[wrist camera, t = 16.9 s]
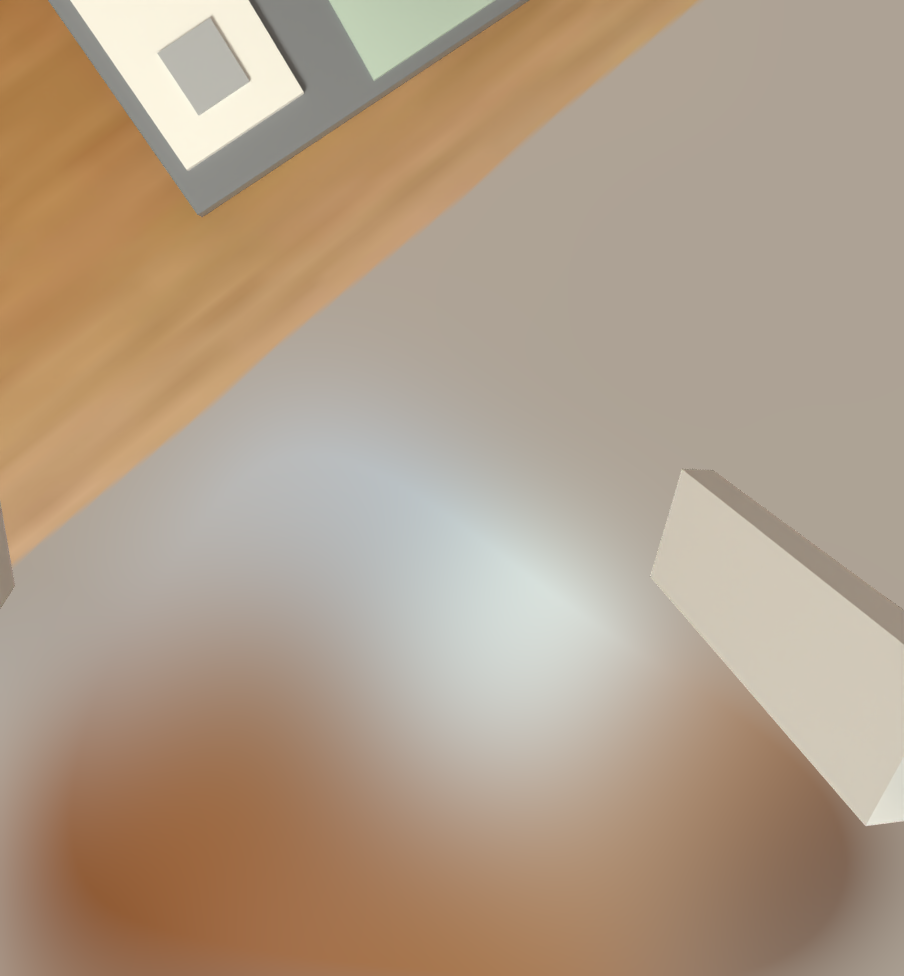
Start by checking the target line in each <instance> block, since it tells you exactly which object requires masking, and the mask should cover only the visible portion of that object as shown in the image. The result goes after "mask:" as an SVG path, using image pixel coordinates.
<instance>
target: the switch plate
mask: <svg viewBox="0 0 904 976" xmlns="http://www.w3.org/2000/svg"><path fill="white" fill-rule="evenodd" d="M48 1H49V2H50V4H51V5H52V6H53V8H54V9H55V11H56V12H57V14H58V15H59V16H60V18H61V19H62V21H63V22H64V24H65V25H66V27H67V28H68V29H69V31H70V32H71V34H72V35H73V37H74V38H75V39H76V41H77V42H78V44H79V45H80V47H81V48H82V49H83V51H84V52H85V54H86V55H87V57H88V58H89V60H90V61H91V62H92V64H93V65H94V67H95V68H96V70H97V71H98V72H99V74H100V75H101V77H102V78H103V80H104V81H105V83H106V84H107V85H108V87H109V88H110V90H111V91H112V93H113V94H114V95H115V97H116V98H117V100H118V101H119V103H120V104H121V105H122V107H123V108H124V110H125V111H126V113H127V114H128V116H129V117H130V118H131V120H132V121H133V123H134V124H135V126H136V127H137V128H138V130H139V131H140V133H141V134H142V136H143V137H144V138H145V140H146V141H147V143H148V144H149V146H150V147H151V149H152V150H153V151H154V153H155V154H156V156H157V157H158V159H159V160H160V161H161V163H162V164H163V166H164V167H165V169H166V170H167V171H168V173H169V174H170V176H171V177H172V179H173V180H174V182H175V183H176V184H177V186H178V187H179V189H180V190H181V192H182V193H183V194H184V196H185V197H186V199H187V200H188V202H189V203H190V205H191V206H192V207H193V209H194V210H195V212H196V213H197V215H199V216H201V217H203V216H205V215H206V214H208V213H209V212H211V211H212V210H214V209H215V208H217V207H218V206H220V205H221V204H223V203H224V202H226V201H227V200H229V199H230V198H232V197H233V196H235V195H236V194H238V193H239V192H241V191H242V190H244V189H245V188H247V187H248V186H250V185H251V184H253V183H254V182H256V181H257V180H259V179H260V178H262V177H263V176H265V175H266V174H268V173H270V172H271V171H273V170H274V169H276V168H277V167H279V166H280V165H282V164H283V163H285V162H286V161H288V160H289V159H291V158H292V157H294V156H295V155H297V154H298V153H300V152H301V151H303V150H304V149H306V148H307V147H309V146H310V145H312V144H313V143H315V142H316V141H318V140H319V139H321V138H322V137H324V136H325V135H327V134H328V133H330V132H331V131H333V130H334V129H336V128H337V127H339V126H340V125H342V124H343V123H345V122H346V121H348V120H349V119H351V118H352V117H354V116H355V115H357V114H358V113H360V112H361V111H363V110H364V109H366V108H367V107H369V106H370V105H372V104H373V103H375V102H377V101H378V100H380V99H381V98H383V97H384V96H386V95H387V94H389V93H390V92H392V91H393V90H395V89H396V88H398V87H399V86H401V85H402V84H404V83H405V82H407V81H408V80H410V79H411V78H413V77H414V76H416V75H417V74H419V73H420V72H422V71H423V70H425V69H426V68H428V67H429V66H431V65H432V64H434V63H435V62H437V61H438V60H440V59H441V58H443V57H444V56H446V55H447V54H449V53H450V52H452V51H453V50H455V49H456V48H458V47H459V46H461V45H462V44H464V43H465V42H467V41H468V40H470V39H471V38H473V37H474V36H476V35H477V34H479V33H481V32H482V31H484V30H485V29H487V28H488V27H490V26H491V25H493V24H494V23H496V22H497V21H499V20H500V19H502V18H503V17H505V16H506V15H508V14H509V13H511V12H512V11H514V10H515V9H517V8H518V7H520V6H521V5H523V4H524V3H526V2H527V1H529V0H48Z"/></svg>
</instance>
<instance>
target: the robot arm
mask: <svg viewBox="0 0 904 976" xmlns="http://www.w3.org/2000/svg"><path fill="white" fill-rule="evenodd" d="M650 577H651V578H652V579H653V580H654V582H655V583H656V584H657V585H658V586H659V587H660V588H661V590H662V591H663V592H664V593H665V594H666V595H667V597H668V598H669V599H670V600H671V601H672V602H673V604H674V605H675V606H676V607H677V608H678V609H679V611H680V612H681V613H682V614H683V615H684V616H685V617H686V618H687V620H688V621H689V622H690V623H691V624H692V626H693V627H694V628H695V629H696V630H697V631H698V632H699V633H700V635H701V636H702V637H703V638H704V639H705V641H706V642H707V643H708V644H709V645H710V646H711V648H712V649H713V650H714V651H715V652H716V653H717V655H718V656H719V657H720V658H721V659H722V660H723V661H724V663H725V664H726V665H727V666H728V667H729V668H730V670H731V671H732V672H733V673H734V674H735V675H736V676H737V678H738V679H739V680H740V681H741V682H742V683H743V685H744V686H745V687H746V688H747V689H748V690H749V691H750V693H751V694H752V695H753V696H754V697H755V698H756V700H757V701H758V702H759V703H760V704H761V705H762V707H763V708H764V709H765V710H766V711H767V712H768V714H769V715H770V716H771V717H772V718H773V719H774V721H775V722H776V723H777V724H778V725H779V726H780V727H781V729H782V730H783V731H784V732H785V733H786V734H787V736H788V737H789V738H790V739H791V740H792V741H793V743H794V744H795V745H796V746H797V747H798V748H799V749H800V751H801V752H802V753H803V754H804V755H805V756H806V757H807V759H808V760H809V761H810V762H811V763H812V764H813V766H814V767H815V768H816V769H817V770H818V771H819V772H820V774H821V775H822V776H823V777H824V778H825V779H826V781H827V782H828V783H829V784H830V785H831V787H832V788H833V789H834V790H835V791H836V792H837V793H838V795H839V796H840V797H841V798H842V799H843V800H844V801H845V803H846V804H847V805H848V806H849V807H850V808H851V809H852V811H853V812H854V813H855V814H856V815H857V817H858V818H859V819H860V820H861V821H862V822H863V824H864V825H865V826H868V825H876V824H884V823H892V822H900V821H904V610H903V609H901V608H900V607H899V606H897V605H896V604H894V603H893V602H892V601H891V600H889V599H888V598H886V597H885V596H883V595H882V594H881V593H879V592H878V591H877V590H875V589H874V588H873V587H871V586H870V585H868V584H867V583H866V582H864V581H863V580H862V579H860V578H859V577H858V576H856V575H855V574H854V573H852V572H851V571H849V570H848V569H847V568H845V567H844V566H843V565H841V564H840V563H839V562H837V561H836V560H835V559H833V558H832V557H830V556H829V555H828V554H826V553H825V552H823V551H822V550H821V549H820V548H818V547H817V546H815V545H814V544H813V543H811V542H810V541H809V540H807V539H806V538H804V537H803V536H802V535H801V534H799V533H798V532H796V531H795V530H794V529H792V528H791V527H789V526H788V525H787V524H786V523H784V522H783V521H781V520H780V519H779V518H777V517H776V516H775V515H773V514H772V513H771V512H769V511H768V510H767V509H765V508H764V507H762V506H761V505H760V504H758V503H757V502H756V501H754V500H753V499H752V498H750V497H749V496H747V495H746V494H745V493H743V492H742V491H741V490H739V489H738V488H737V487H735V486H734V485H733V484H731V483H730V482H728V481H727V480H726V479H724V478H723V477H722V476H720V475H719V474H718V473H716V472H715V471H713V470H697V469H682V470H681V474H680V477H679V481H678V484H677V488H676V491H675V494H674V498H673V501H672V504H671V508H670V511H669V515H668V519H667V522H666V525H665V528H664V532H663V535H662V539H661V542H660V545H659V549H658V552H657V556H656V559H655V562H654V566H653V569H652V573H651V576H650ZM14 587H15V583H14V577H13V572H12V566H11V560H10V554H9V549H8V543H7V537H6V532H5V526H4V520H3V515H2V509H1V503H0V609H1V607H2V606H3V604H4V602H5V601H6V599H7V598H8V596H9V595H10V593H11V591H12V590H13V588H14Z"/></svg>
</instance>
